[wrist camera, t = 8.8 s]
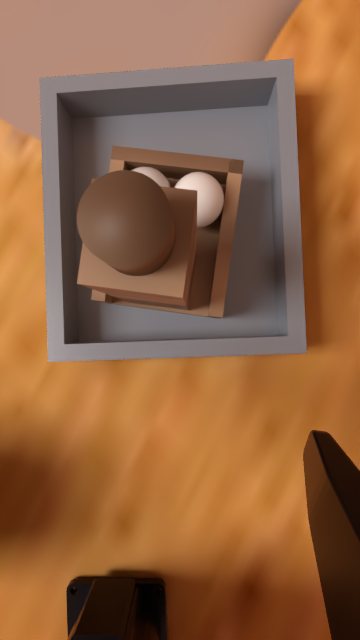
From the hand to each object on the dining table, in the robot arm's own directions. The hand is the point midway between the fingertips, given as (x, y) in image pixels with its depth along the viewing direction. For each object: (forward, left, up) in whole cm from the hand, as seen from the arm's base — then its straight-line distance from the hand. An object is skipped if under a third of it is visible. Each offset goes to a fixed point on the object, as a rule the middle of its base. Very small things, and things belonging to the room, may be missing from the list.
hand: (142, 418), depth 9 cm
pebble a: (+10, -2, -9) cm, 14 cm away
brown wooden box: (+8, 0, -12) cm, 15 cm away
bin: (+9, 0, -13) cm, 16 cm away
